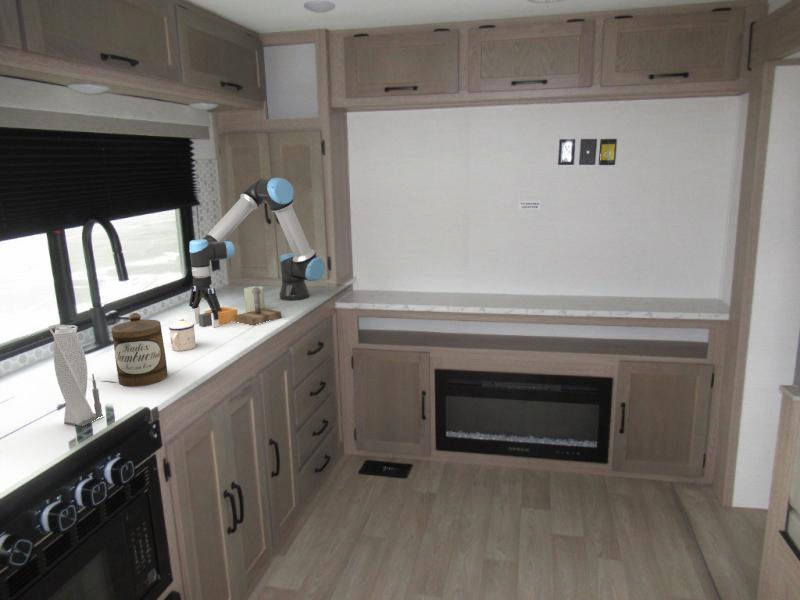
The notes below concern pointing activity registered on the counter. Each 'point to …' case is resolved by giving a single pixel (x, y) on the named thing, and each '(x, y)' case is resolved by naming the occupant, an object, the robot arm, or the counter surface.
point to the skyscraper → (73, 376)
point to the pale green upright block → (250, 298)
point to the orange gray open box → (223, 315)
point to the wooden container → (139, 351)
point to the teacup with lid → (182, 335)
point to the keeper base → (257, 317)
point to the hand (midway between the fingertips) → (206, 324)
